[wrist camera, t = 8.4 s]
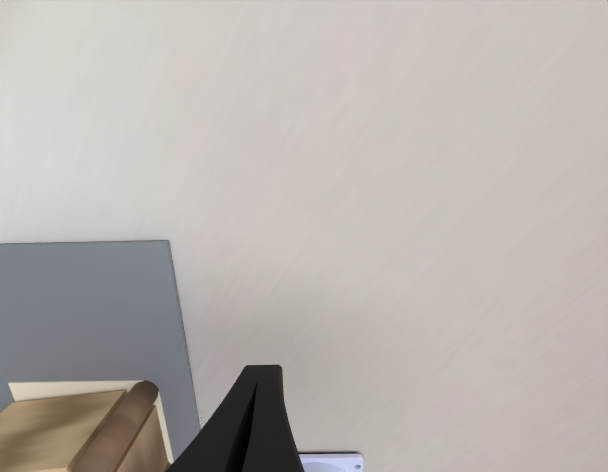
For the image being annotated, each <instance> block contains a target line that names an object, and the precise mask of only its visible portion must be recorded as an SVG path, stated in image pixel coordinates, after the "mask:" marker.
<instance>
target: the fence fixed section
mask: <svg viewBox="0 0 608 472" xmlns="http://www.w3.org/2000/svg"><path fill="white" fill-rule="evenodd" d="M158 391H159V389H158V387H157V386H156V385H155V384H154V383H152V382H150V381H146V380H144V381H141V382H137V383H136V384H135V385H134V386H133V387H132V388H131V390H130V391H129V393H128V394H127V395H126V397H125V398H124V399H123V401H122V402H121V403H120V405H119V406H118V408H117V409H116V410H115V412H114V413H113V414H112V416H111V417H110V418H109V420H108V421H107V423H106V424H105V425H104V427H103V428H102V429H101V431H100V432H99V433H98V435H97V436H96V438H95V439H94V440H93V442H92V443H91V444H90V446H89V447H88V448H87V450H86V451H85V453H84V454H83V455H82V457H81V458H80V459H79V461H78V462H77V463H76V465H75V466H74V467H73V470H72V472H165V471H166V470H167V469H168V468H169V467H170V465H171V464H170V462H169V461H168V458H167V454H166V449H165V444H164V440H163V435H162V430H161V426H160V421H159V417H158V412H157V407H156V405H153V404H154V402H155V400H156V399H157V397H158Z"/></svg>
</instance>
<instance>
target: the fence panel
mask: <svg viewBox="0 0 608 472" xmlns="http://www.w3.org/2000/svg"><path fill="white" fill-rule="evenodd" d="M125 397H126V394H125V391H116V392H107V393H98V394H89V395H79V396H70V397H61V398H52V399H43V400H34V401H25V402H16V403H11V404H10V405H9V406H8V407H7V408H5V409H4V410H3V411H2V412H1V413H0V472H72V470H73V467H74V466H75V465H76V463H77V462H78V461H79V459H80V458H81V457H82V455H83V454H84V453H85V451H86V450H87V448H88V447H89V446H90V444H91V443H92V442H93V440H94V439H95V438H96V436H97V435H98V433H99V432H100V431H101V429H102V428H103V427H104V425H105V424H106V423H107V421H108V420H109V418H110V417H111V416H112V414H113V413H114V412H115V410H116V409H117V408H118V406H119V405H120V403H121V402H122V401H123V399H124V398H125Z"/></svg>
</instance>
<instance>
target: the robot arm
mask: <svg viewBox="0 0 608 472" xmlns="http://www.w3.org/2000/svg"><path fill="white" fill-rule="evenodd" d="M363 464H364V461H363V456H362V455H360V454H298V451H297V448H296V445H295V442H294V439H293V435H292V432H291V428H290V425H289V421H288V417H287V413H286V408H285V403H284V394H283V376H282V367H281V366H280V365H247V366H246V367H244V369H243V371H242V372H241V374H240V375H239V377H238V379H237V380H236V382H235V383H234V385H233V387H232V388H231V390H230V391H229V393H228V394H227V396H226V397H225V398H224V400H223V401H222V403H221V404H220V405H219V407H218V408H217V410H216V411H215V412H214V414H213V415H212V416H211V418H210V419H209V420H208V422H207V423H206V424H205V425H204V427H203V428H202V429H201V430H200V432H199V433H198V434H197V436H196V437H195V438H194V439H193V440H192V442H191V443H190V444H189V445H188V446H187V448H186V449H185V450H184V451H183V452H182V453H181V454H180V456H179V457H178V458H177V459H176V460H175V461H174V462H173V463H172V464H171V465H170V467H169V468H168V469H167V470H166V471H165V472H363Z"/></svg>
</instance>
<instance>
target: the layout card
mask: <svg viewBox="0 0 608 472" xmlns="http://www.w3.org/2000/svg"><path fill="white" fill-rule="evenodd" d="M144 380H146V381H150V382H152V383H154V384H155V385H156V386H157V387H158V389H159V391H158V397H157V399H156V400H155V402H154V404H153V405H156V407H157V412H158V417H159V421H160V426H161V430H162V435H163V440H164V444H165V449H166V454H167V458H168V461H169V462H170V464H172V463H173V462H174V461H175V460H176V459H177V458H178V457H179V456H180V454H181V453H182V452H183V451H184V450H185V449H186V448H187V446H188V445H189V444H190V443H191V442H192V440H193V439H194V438H195V437H196V436H197V434H198V433H199V432H200V425H199V419H198V413H197V407H196V401H195V395H194V389H193V383H192V377H191V371H190V365H189V359H188V353H187V346H186V340H185V334H184V328H183V322H182V316H181V310H180V304H179V298H178V292H177V286H176V280H175V274H174V268H173V262H172V256H171V250H170V244H169V240H152V241H103V242H55V243H6V244H0V413H1V412H2V411H3V410H4V409H5V408H7V407H8V406H9V405H10V404H11V403H16V402H25V401H34V400H43V399H52V398H61V397H70V396H79V395H89V394H98V393H107V392H116V391H125V394H126V395H127V394H128V393H129V391H130V390H131V388H132V387H133V386H134V385H135V384H136V383H137V382H141V381H144Z"/></svg>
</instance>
